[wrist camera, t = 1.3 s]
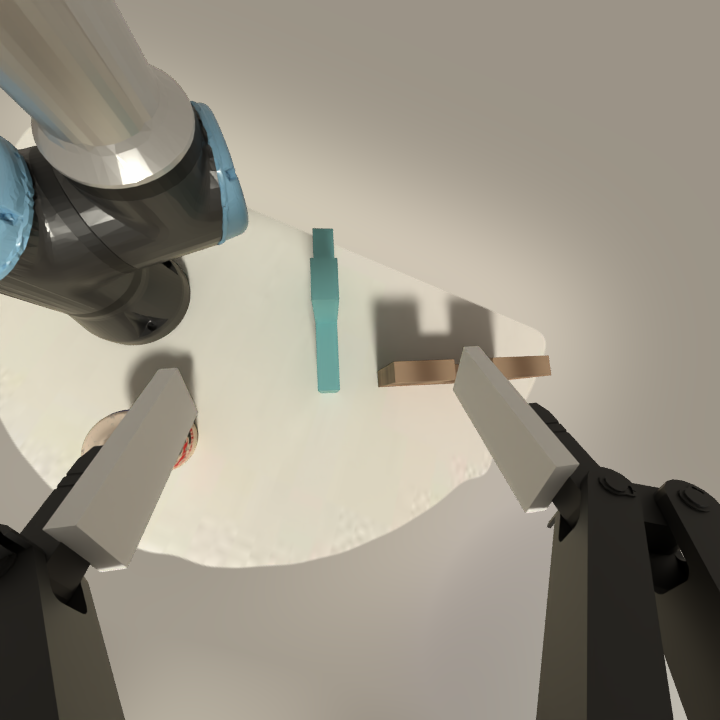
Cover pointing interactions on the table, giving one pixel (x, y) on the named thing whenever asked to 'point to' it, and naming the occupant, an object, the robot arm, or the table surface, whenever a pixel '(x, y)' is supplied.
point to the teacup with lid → (109, 424)
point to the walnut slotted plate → (447, 370)
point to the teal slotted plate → (325, 309)
